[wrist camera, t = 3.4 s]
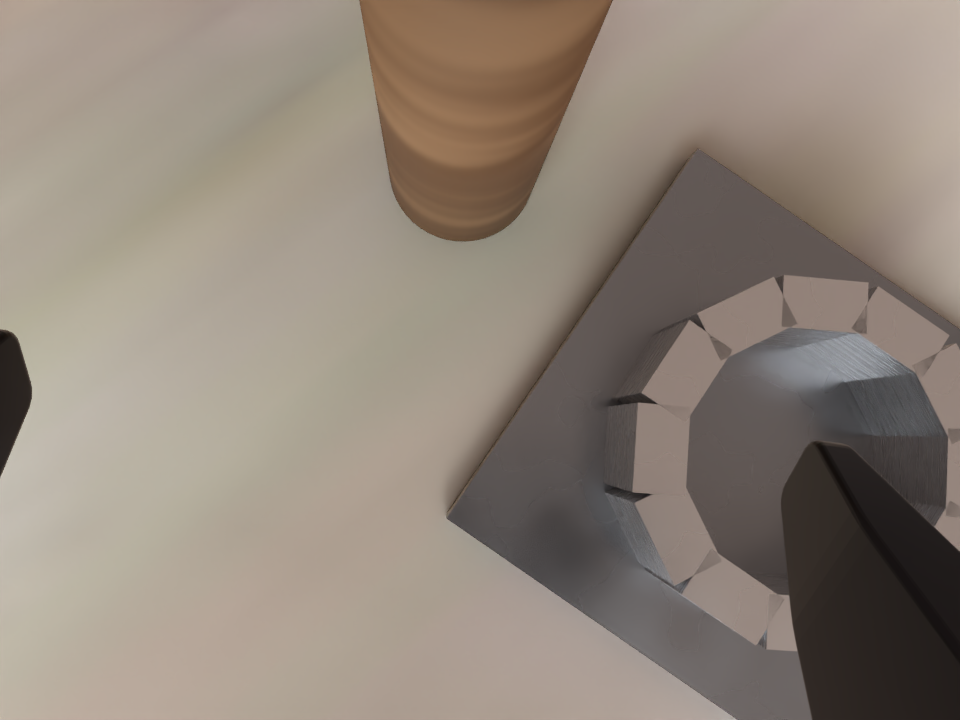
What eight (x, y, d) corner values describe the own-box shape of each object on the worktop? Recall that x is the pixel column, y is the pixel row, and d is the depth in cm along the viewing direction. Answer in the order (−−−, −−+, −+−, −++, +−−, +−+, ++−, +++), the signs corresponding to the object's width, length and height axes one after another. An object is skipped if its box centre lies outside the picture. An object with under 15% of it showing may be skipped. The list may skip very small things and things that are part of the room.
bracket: (816, 771, 22) (901, 846, 18) (445, 514, 22) (448, 533, 18) (1039, 400, 23) (1165, 394, 19) (688, 158, 23) (741, 102, 19)
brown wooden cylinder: (480, 269, 23) (545, 64, 10) (360, 186, 23) (266, -130, 10) (561, 153, 23) (727, -193, 10) (443, 72, 23) (457, -380, 10)
